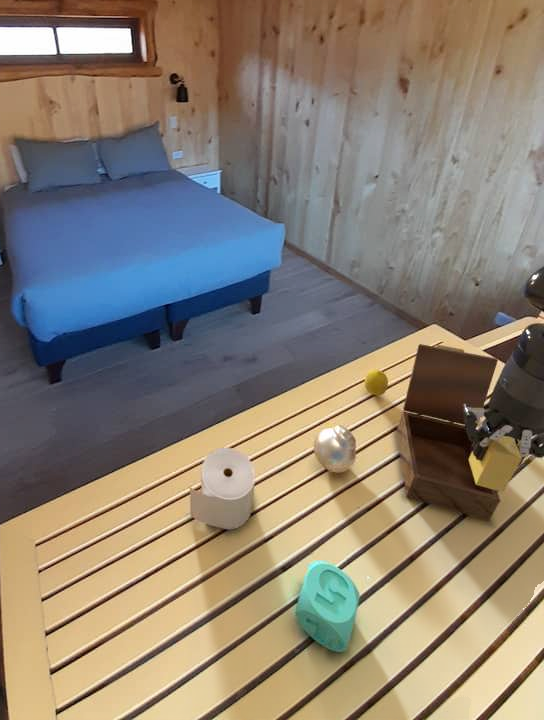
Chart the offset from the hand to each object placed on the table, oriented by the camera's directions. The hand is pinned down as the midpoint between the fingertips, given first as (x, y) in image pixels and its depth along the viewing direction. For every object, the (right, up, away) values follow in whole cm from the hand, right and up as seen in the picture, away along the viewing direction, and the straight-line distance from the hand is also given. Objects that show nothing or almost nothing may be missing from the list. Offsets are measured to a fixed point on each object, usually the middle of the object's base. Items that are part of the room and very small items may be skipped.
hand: (492, 459), depth 69 cm
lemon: (-2, -4, +40) cm, 40 cm away
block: (0, -4, +2) cm, 4 cm away
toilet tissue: (-45, -18, +15) cm, 50 cm away
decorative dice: (-30, -25, -1) cm, 39 cm away
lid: (+6, +5, +21) cm, 22 cm away
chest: (+3, -14, +20) cm, 24 cm away
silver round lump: (-19, -13, +23) cm, 32 cm away
